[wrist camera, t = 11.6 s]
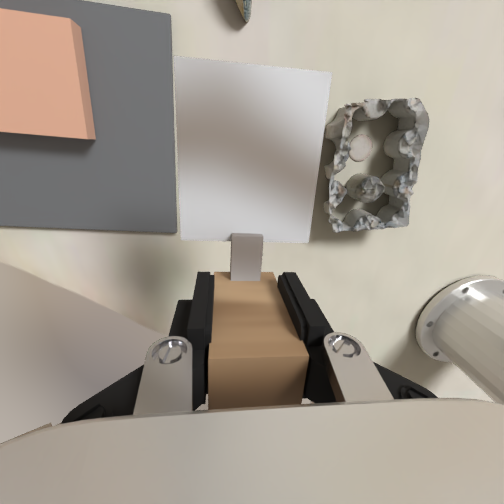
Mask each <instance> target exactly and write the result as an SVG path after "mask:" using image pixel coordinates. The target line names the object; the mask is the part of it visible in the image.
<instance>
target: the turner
mask: <svg viewBox="0 0 504 504" xmlns="http://www.w3.org/2000/svg"><path fill="white" fill-rule="evenodd" d="M174 71H175V97H176V124H177V150H178V177H179V203H180V229H181V240H198V241H231V263H230V272H214V275H215V287H214V305H213V323H212V341H211V343H209V357H208V410H213V409H229V408H245V407H262V406H279V405H297V404H301V402H302V396H303V390H304V384H305V378H306V372H307V366H308V360H309V354H308V352H307V350H306V347H305V345H304V343H303V341H300V339H299V337H298V335H297V332H296V330H295V327H294V325H293V323H292V320H291V318H290V316H289V313H288V311H287V308H286V306H285V304H284V301H283V299H282V297H281V294H280V292H279V289H278V287H277V285H278V283H277V281H276V278H275V276H274V274H273V272H261V264H262V251H263V242H289V243H309V236H310V229H311V222H312V214H313V207H314V200H315V193H316V186H317V178H318V171H319V164H320V157H321V150H322V142H323V135H324V128H325V121H326V114H327V107H328V99H329V92H330V85H331V78H332V72H324V71H314V70H305V69H295V68H286V67H276V66H267V65H257V64H248V63H238V62H229V61H219V60H210V59H200V58H191V57H181V56H174Z"/></svg>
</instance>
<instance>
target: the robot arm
mask: <svg viewBox="0 0 504 504" xmlns="http://www.w3.org/2000/svg"><path fill="white" fill-rule="evenodd" d="M214 287H215V275H210V272H198V274H197V279H196V284H195V290H194V295H193V300H179V301H178V304H177V307H176V311H175V315H174V318H173V322H172V325H171V329H170V333H169V336H168V337H165V338H162V339H159V340H158V341H156V342H155V343H153V344H152V345H151V346H150V348H149V349H148V352H147V355H146V359H145V363H144V365H142V366H141V367H139V368H138V369H136V370H135V371H133V372H131V373H129V374H128V375H126V376H125V377H123V378H121V379H120V380H118V381H117V382H115V383H113V384H112V385H110V386H109V387H107V388H105V389H104V390H102V391H101V392H99V393H98V394H96V395H94V396H93V397H91V398H89V399H88V400H86V401H85V402H83V403H81V404H80V405H78V406H77V407H76V408H74V409H73V410H72V411H70V413H69V414H68V415H67V416H66V417H65V418H64V419H63V421H62V423H60V424H58V425H55V426H52V424H51V423H49V424H46V425H44V426H42V427H39V428H37V429H34V430H32V431H30V432H27V433H25V434H22V435H20V436H18V437H15V438H13V439H11V440H8V441H6V442H3V443H1V444H0V504H504V281H503V280H501V279H499V278H497V277H492V276H484V275H479V276H473V277H469V278H466V279H462V280H460V281H458V282H456V283H453V284H451V285H450V286H448V287H447V288H445V289H444V290H442V291H441V292H440V293H438V294H437V295H436V296H435V297H434V298H433V299H432V300H431V301H430V302H429V303H428V304H427V306H426V307H425V309H424V310H423V312H422V313H421V315H420V318H419V320H418V323H417V327H416V339H417V343H418V345H419V346H420V348H421V349H422V350H423V351H424V352H425V353H426V354H427V355H428V356H429V357H431V358H432V359H435V360H438V361H443V362H453V363H454V364H455V365H456V366H457V367H458V368H459V369H460V370H461V371H463V372H464V373H465V374H466V375H467V376H468V377H469V378H470V379H471V380H472V381H473V382H474V383H475V384H476V385H477V386H478V387H479V388H480V389H482V390H483V391H484V392H485V393H486V394H487V395H488V396H489V397H490V398H491V399H492V400H493V401H494V402H489V401H483V400H477V399H463V398H438V397H437V396H435V395H434V394H433V393H432V392H431V391H429V390H427V389H426V388H424V387H422V386H420V385H418V384H416V383H414V382H412V381H410V380H408V379H406V378H404V377H402V376H400V375H398V374H396V373H394V372H392V371H390V370H388V369H386V368H384V367H382V366H380V365H378V364H376V363H374V362H373V361H372V360H371V358H370V356H369V354H368V353H367V351H366V349H365V347H364V346H363V344H362V343H361V342H360V341H359V340H357V339H356V338H355V337H353V336H351V335H348V334H345V333H340V332H334V331H333V329H332V328H331V326H330V324H329V323H328V321H327V319H326V318H325V316H324V314H323V313H322V311H321V309H320V307H319V306H318V304H317V302H316V301H315V300H314V299H310V297H309V296H308V294H307V292H306V290H305V289H304V287H303V285H302V283H301V281H300V280H299V278H298V276H297V274H296V273H295V272H283V274H282V275H279V277H278V285H277V287H278V289H279V292H280V294H281V297H282V299H283V301H284V304H285V306H286V308H287V311H288V313H289V316H290V318H291V320H292V323H293V325H294V327H295V330H296V332H297V335H298V337H299V339H300V341H303V343H304V345H305V347H306V350H307V352H308V354H309V360H308V366H307V372H306V378H305V384H304V390H303V396H302V398H308V399H309V400H311V404H297V405H279V406H262V407H245V408H229V409H213V410H197V411H195V410H196V409H197V408H198V407H199V406H200V405H201V404H205V400H206V394H208V357H209V343H211V341H212V323H213V305H214Z"/></svg>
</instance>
